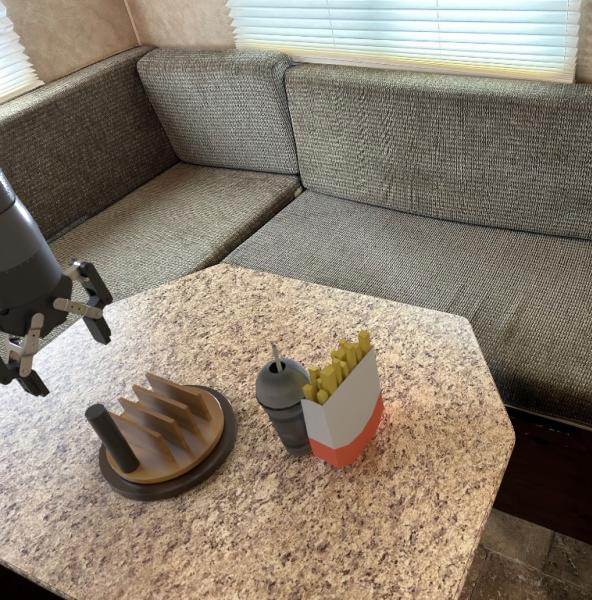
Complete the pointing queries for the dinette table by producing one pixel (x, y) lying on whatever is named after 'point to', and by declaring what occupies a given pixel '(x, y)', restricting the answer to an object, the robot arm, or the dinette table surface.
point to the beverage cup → (285, 401)
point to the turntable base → (187, 479)
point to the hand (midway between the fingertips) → (74, 366)
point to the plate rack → (159, 430)
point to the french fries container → (343, 403)
